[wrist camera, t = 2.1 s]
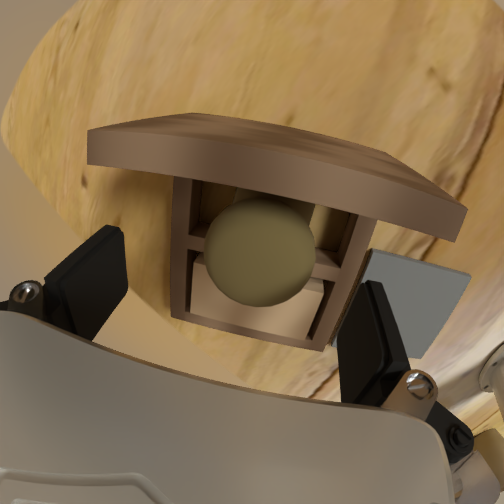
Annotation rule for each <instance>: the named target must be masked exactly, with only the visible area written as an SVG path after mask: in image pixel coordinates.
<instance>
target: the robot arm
mask: <svg viewBox="0 0 504 504" xmlns="http://www.w3.org/2000/svg"><path fill="white" fill-rule="evenodd" d="M44 280H45V284H44V285H43V286H42V285H41V284H40V283H39V282H38V281H34V280H28V281H24V282H21V283H19V284H18V285H16V286H15V287H14V288H13V289H12V291H11V292H10V295H9V300H7V301H3V302H0V504H495V502H496V501H497V499H498V498H499V495H500V491H501V490H500V483H499V481H498V479H497V478H496V476H495V475H494V473H493V472H492V470H491V469H490V467H489V466H488V464H487V463H486V461H485V460H484V458H483V457H482V455H481V454H480V452H479V451H478V450H476V451H475V452H474V451H473V447H474V437H473V434H472V432H471V430H470V429H469V428H468V426H467V425H465V424H464V423H463V422H462V421H461V420H459V419H458V418H457V417H456V416H454V415H453V414H452V413H451V412H450V411H448V410H447V409H446V408H445V407H443V406H442V405H441V404H440V403H439V402H437V401H436V399H437V395H438V388H437V385H436V382H435V381H434V380H433V378H432V377H431V376H430V375H429V374H427V373H425V372H424V371H421V370H417V369H415V370H411V368H410V364H409V361H408V357H407V354H406V351H405V347H404V344H403V341H402V338H401V335H400V332H399V329H398V326H397V323H396V320H395V317H394V315H393V312H392V309H391V306H390V303H389V300H388V298H387V295H386V292H385V290H384V287H383V284H382V283H381V282H377V281H372V280H367V281H366V282H365V283H363V282H362V283H361V284H360V286H359V288H358V290H357V293H356V295H355V297H354V300H353V302H352V304H351V306H350V308H349V311H348V313H347V315H346V317H345V319H344V321H343V323H342V326H341V328H340V330H339V332H338V334H337V340H336V342H337V353H338V364H339V376H340V390H341V402H333V401H325V400H317V399H310V398H303V397H296V396H290V395H283V394H277V393H272V392H266V391H261V390H256V389H251V388H246V387H240V386H236V385H231V384H227V383H223V382H219V381H214V380H210V379H206V378H203V377H199V376H195V375H191V374H188V373H184V372H180V371H177V370H173V369H170V368H167V367H163V366H160V365H157V364H154V363H151V362H147V361H144V360H141V359H138V358H135V357H132V356H130V355H127V354H124V353H121V352H118V351H115V350H113V349H110V348H107V347H104V346H102V345H100V344H97V343H94V342H92V340H93V339H94V337H95V336H96V334H97V333H98V332H99V330H100V329H101V327H102V326H103V325H104V323H105V322H106V320H107V319H108V318H109V316H110V315H111V314H112V312H113V311H114V309H115V308H116V307H117V305H118V304H119V303H120V301H121V300H122V299H123V297H124V296H125V295H126V293H127V291H128V279H127V270H126V258H125V245H124V234H123V232H122V231H121V230H120V228H119V227H116V226H111V225H105V226H104V227H102V228H101V229H100V230H99V231H97V232H96V233H95V234H94V235H92V236H91V237H90V238H89V239H88V240H86V241H85V242H84V243H83V244H82V245H80V246H79V247H78V248H77V249H76V250H74V251H73V252H72V253H71V254H70V255H69V256H68V257H66V258H65V259H64V260H63V261H62V262H61V263H60V264H58V265H57V266H56V268H54V269H53V270H52V271H51V272H50V273H49V274H48V275H47V276H46V277H44ZM479 384H480V387H481V389H482V390H483V391H484V392H494V395H495V397H496V400H497V403H498V406H499V409H500V412H501V415H502V418H503V421H504V344H503V345H502V346H501V347H500V348H499V349H498V350H497V351H496V352H495V353H494V354H493V355H492V356H491V358H490V359H489V360H488V361H487V363H486V364H485V366H484V367H483V369H482V371H481V373H480V376H479Z"/></svg>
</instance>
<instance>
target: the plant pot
mask: <svg viewBox="0 0 504 504" xmlns="http://www.w3.org/2000/svg"><path fill="white" fill-rule="evenodd" d="M476 450H478V451H479V452H480V454H481V455H482V457H483V458H484V460H485V461H486V463H487V464H488V466H489V467H490V469H491V470H492V472H493V473H494V475H495V476H496V478H497V479H498V481H499V483H500V490H501V491H500V493H501V492H502V491H504V438H503V437H502V436H501V434H500V433H499V432H498V431H497V430H496V429H490V430H487V431H485V432H483V433H481V434H479V435H478V436H476V437H475V438H474V447H473V451H474V452H475V451H476Z"/></svg>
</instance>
